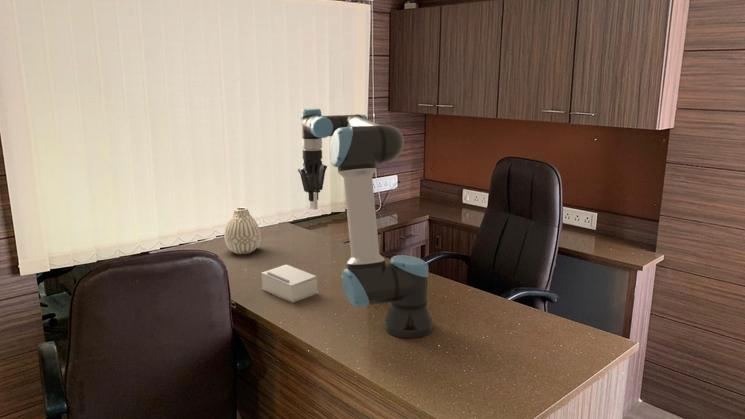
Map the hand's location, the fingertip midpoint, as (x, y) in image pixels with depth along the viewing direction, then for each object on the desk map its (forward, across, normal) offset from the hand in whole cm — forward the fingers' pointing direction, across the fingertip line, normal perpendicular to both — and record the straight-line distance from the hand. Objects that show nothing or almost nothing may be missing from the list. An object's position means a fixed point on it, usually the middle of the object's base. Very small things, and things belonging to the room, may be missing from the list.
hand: (313, 208), depth 221 cm
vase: (+27, +6, -43) cm, 51 cm away
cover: (+20, +20, +9) cm, 30 cm away
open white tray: (+26, +20, +9) cm, 34 cm away
